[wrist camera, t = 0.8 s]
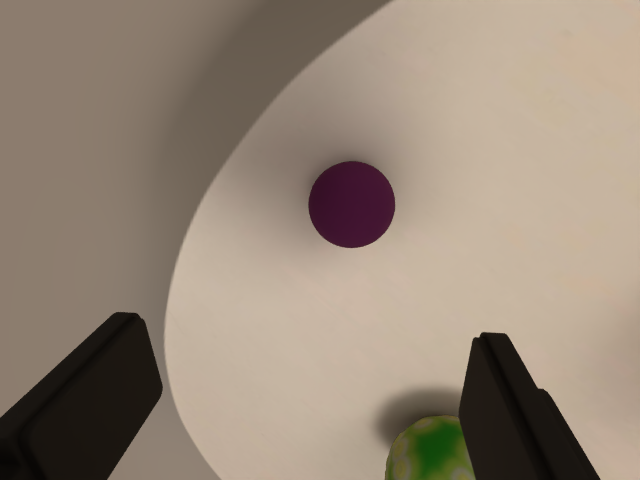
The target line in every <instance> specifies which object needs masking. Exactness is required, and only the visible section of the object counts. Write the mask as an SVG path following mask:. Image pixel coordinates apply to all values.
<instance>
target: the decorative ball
mask: <svg viewBox="0 0 640 480" xmlns="http://www.w3.org/2000/svg"><path fill="white" fill-rule="evenodd" d="M385 480H476V479H475V475H474V471H473V468H472V464H471V461H470V457H469V454H468V450H467V447H466V443H465V440H464V436H463V432H462V429H461V425H460V421H459V418H457V417H455V416H449V415H441V416H429V417H425V418H421V419H420V420H418V421H417V422H415V423H414V424H412V425H411V426H410V427H408V428H407V429H406V430H404V431H403V432H402V433H401V434H399V435H398V437H397V438H396V439H395V441H394V443H393V445H392V447H391V449H390V453H389V456H388V458H387V462H386V471H385Z"/></svg>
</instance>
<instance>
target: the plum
mask: <svg viewBox="0 0 640 480" xmlns="http://www.w3.org/2000/svg"><path fill="white" fill-rule="evenodd" d="M308 205H309V214H310V218H311V221H312V223H313V225H314V227H315V229H316V230H317V231H318V233H319V234H320V235H321V236H322V237H323V238H324V239H326V240H327V241H329V242H330V243H332V244H335V245H337V246H340V247H345V248H358V247H363V246H366V245H368V244H371V243H373V242H374V241H376V240H377V239H378V238H380V237H381V236H382V235H383V234H384V233H385V232H386V230H387V229H388V227H389V225H390V224H391V221H392V219H393V216H394V211H395V197H394V193H393V190H392V187H391V185H390V183H389V181H388V180H387V179H386V177H385V176H384V175H383V174H382V173H381V172H380V171H379V170H377V169H376V168H374V167H373V166H371V165H368V164H365V163H362V162H356V161H349V162H342V163H339V164H336V165H333V166H332V167H330V168H328V169H327V170H325V171H324V172H323V173H322V174H321V175H320V176H319V177H318V179H317V180H316V181H315V183H314V185H313V187H312V189H311V192H310V196H309V203H308Z"/></svg>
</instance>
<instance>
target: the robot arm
mask: <svg viewBox="0 0 640 480" xmlns="http://www.w3.org/2000/svg"><path fill="white" fill-rule="evenodd" d="M162 388H163V386H162V382H161V378H160V374H159V371H158V367H157V364H156V360H155V356H154V353H153V349H152V346H151V342H150V338H149V335H148V331H147V327H146V324H145V321H144V320H143V319H141V318H140V316H139V315H138V314H137V313H125V312H116V313H114V314H113V315H111V316H110V317H109V318H108V319H107V320H106V321H105V322H104V323H103V324H102V325H101V326H99V327H98V328H97V329H96V330H95V331H94V332H93V333H92V334H91V335H90V336H89V337H87V339H85V340H84V341H83V342H82V343H81V344H80V345H79V346H78V347H77V348H76V349H74V350H73V351H72V352H71V353H70V354H69V355H68V356H67V357H66V358H65V359H64V360H63V361H61V362H60V363H59V364H58V365H57V366H56V367H55V368H54V369H53V370H52V371H51V372H50V373H48V374H47V375H46V376H45V377H44V378H43V379H42V380H41V381H40V382H39V383H38V384H37V385H35V386H34V387H33V388H32V389H31V390H30V391H29V392H28V393H27V394H26V395H24V396H23V397H22V398H21V399H20V400H19V401H18V402H17V403H16V404H15V405H14V406H13V407H11V408H10V409H9V410H8V411H7V412H6V413H5V414H4V415H3V416H2V417H1V418H0V480H107V479H108V477H109V476H110V474H111V473H112V471H113V470H114V468H115V467H116V465H117V464H118V462H119V460H120V459H121V457H122V456H123V454H124V452H125V451H126V450H127V448H128V447H129V445H130V444H131V442H132V440H133V439H134V437H135V436H136V434H137V433H138V431H139V430H140V428H141V427H142V425H143V423H144V422H145V420H146V419H147V417H148V416H149V414H150V413H151V411H152V409H153V408H154V406H155V405H156V403H157V402H158V400H159V399H160V397H161V394H162ZM459 421H460V425H461V429H462V432H463V436H464V440H465V443H466V447H467V450H468V454H469V457H470V461H471V464H472V468H473V471H474V475H475V479H476V480H600V478H599V476H598V475H597V473H596V471H595V470H594V468H593V466H592V464H591V463H590V461H589V459H588V458H587V456H586V454H585V453H584V451H583V449H582V448H581V446H580V444H579V443H578V441H577V439H576V438H575V436H574V434H573V433H572V431H571V429H570V428H569V426H568V424H567V423H566V421H565V419H564V418H563V416H562V414H561V412H560V411H559V409H558V407H557V406H556V404H555V402H554V401H553V399H552V397H551V396H550V395H549V393H548V392H547V391H545V390H544V389H538V388H537V386H536V384H535V383H534V381H533V379H532V377H531V376H530V374H529V372H528V370H527V369H526V367H525V365H524V363H523V361H522V360H521V358H520V356H519V354H518V353H517V351H516V349H515V347H514V346H513V344H512V342H511V340H510V339H509V337H508V336H507V334H505V333H487V332H483V333H481V335H480V337H479V338H476V337H475V338H474V339H473V341H472V346H471V351H470V356H469V361H468V366H467V371H466V376H465V381H464V386H463V391H462V396H461V401H460V407H459Z"/></svg>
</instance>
